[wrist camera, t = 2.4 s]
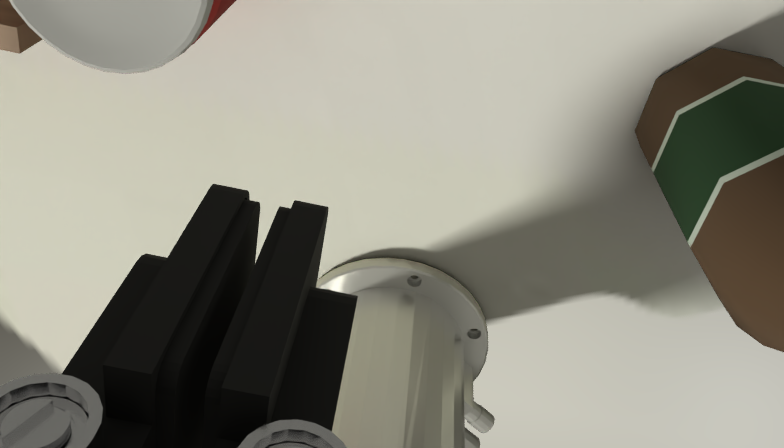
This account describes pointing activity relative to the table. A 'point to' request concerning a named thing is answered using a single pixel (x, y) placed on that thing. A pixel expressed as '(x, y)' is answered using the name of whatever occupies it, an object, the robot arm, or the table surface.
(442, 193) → the table surface
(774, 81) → the beer bottle
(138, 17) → the canned food
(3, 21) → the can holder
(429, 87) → the table surface
